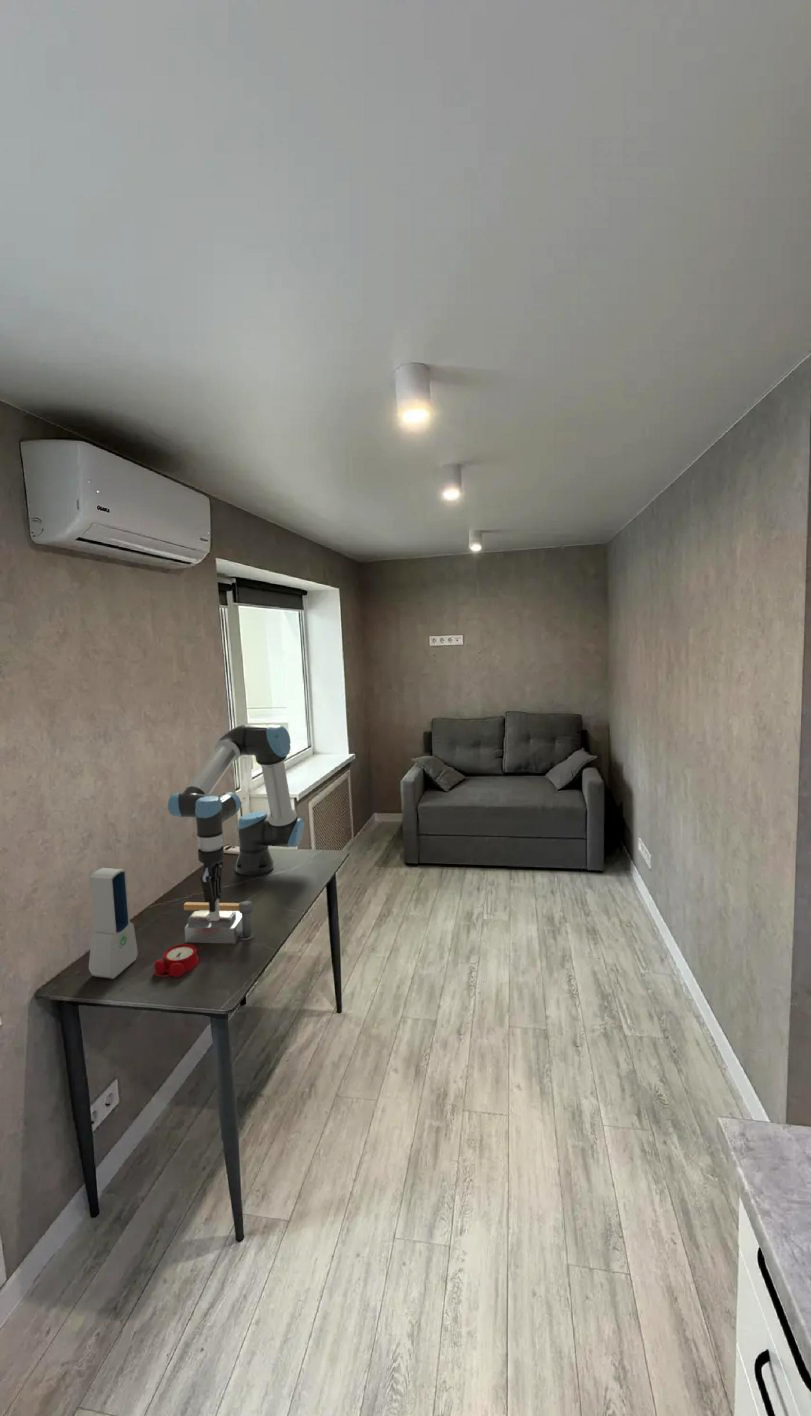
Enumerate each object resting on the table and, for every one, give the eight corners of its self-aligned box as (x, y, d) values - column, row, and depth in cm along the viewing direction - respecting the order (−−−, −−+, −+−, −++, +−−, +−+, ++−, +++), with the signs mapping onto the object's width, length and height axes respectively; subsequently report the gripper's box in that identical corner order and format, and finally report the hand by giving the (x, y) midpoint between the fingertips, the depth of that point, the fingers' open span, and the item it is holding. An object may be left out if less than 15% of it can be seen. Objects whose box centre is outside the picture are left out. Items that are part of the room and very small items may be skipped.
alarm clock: (207, 945, 184) (177, 960, 170) (206, 966, 184) (175, 983, 169) (178, 940, 187) (145, 955, 172) (176, 961, 186) (143, 977, 172)
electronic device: (111, 981, 172) (103, 880, 167) (88, 978, 173) (79, 878, 169) (139, 957, 184) (132, 863, 180) (117, 955, 185) (109, 861, 181)
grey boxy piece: (200, 924, 204) (199, 903, 203) (261, 925, 203) (260, 904, 202) (185, 942, 192) (184, 920, 191) (250, 944, 191) (249, 922, 190)
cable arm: (254, 932, 197) (253, 901, 196) (251, 938, 193) (249, 906, 192) (189, 930, 199) (187, 899, 197) (184, 936, 195) (182, 905, 193)
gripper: (206, 839, 192) (210, 909, 196) (190, 855, 180) (194, 929, 183) (230, 839, 192) (233, 910, 195) (214, 855, 179) (218, 930, 182)
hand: (214, 919), depth 189 cm, fingers closed
